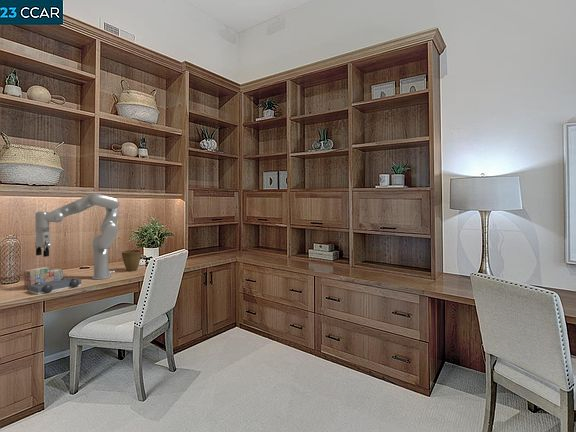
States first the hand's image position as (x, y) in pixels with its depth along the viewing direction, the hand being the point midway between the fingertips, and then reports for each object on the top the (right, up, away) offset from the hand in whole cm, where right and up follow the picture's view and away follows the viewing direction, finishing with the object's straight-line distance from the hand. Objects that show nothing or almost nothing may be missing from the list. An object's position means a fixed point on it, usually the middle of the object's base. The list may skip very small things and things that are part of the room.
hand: (42, 255), depth 226 cm
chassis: (+13, -21, -6) cm, 25 cm away
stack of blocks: (0, -21, +2) cm, 21 cm away
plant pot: (+35, -19, +52) cm, 66 cm away
